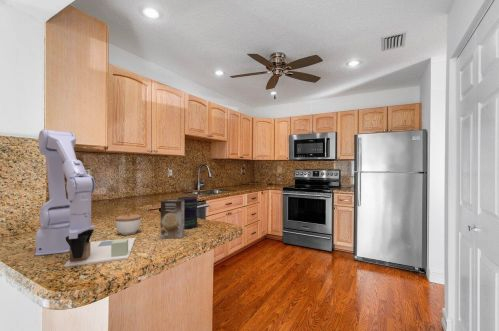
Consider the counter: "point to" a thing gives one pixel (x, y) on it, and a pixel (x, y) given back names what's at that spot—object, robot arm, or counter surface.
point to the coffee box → (172, 218)
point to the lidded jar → (128, 223)
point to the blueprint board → (102, 253)
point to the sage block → (119, 247)
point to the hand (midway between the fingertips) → (80, 255)
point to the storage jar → (190, 212)
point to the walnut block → (85, 253)
